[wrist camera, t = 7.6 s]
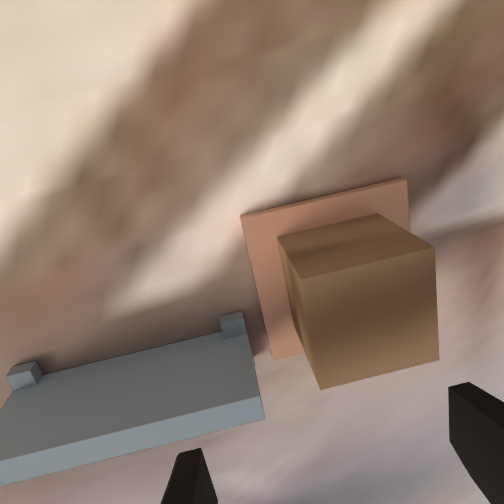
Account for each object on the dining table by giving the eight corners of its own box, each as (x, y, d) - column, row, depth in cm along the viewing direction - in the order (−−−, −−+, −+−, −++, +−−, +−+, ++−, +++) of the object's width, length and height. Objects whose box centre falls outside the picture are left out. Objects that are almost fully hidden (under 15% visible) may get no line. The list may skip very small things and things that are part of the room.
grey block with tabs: (253, 357, 22) (268, 435, 17) (36, 411, 21) (-17, 508, 16) (242, 310, 21) (254, 378, 16) (12, 366, 20) (-52, 454, 15)
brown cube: (391, 302, 21) (445, 358, 16) (294, 326, 21) (320, 389, 16) (382, 211, 19) (441, 245, 14) (276, 237, 19) (300, 279, 14)
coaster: (411, 318, 22) (416, 324, 22) (271, 353, 22) (273, 360, 21) (401, 178, 19) (406, 180, 19) (240, 215, 19) (241, 219, 18)
